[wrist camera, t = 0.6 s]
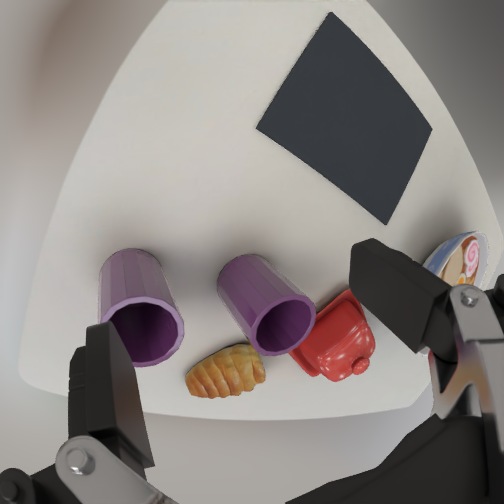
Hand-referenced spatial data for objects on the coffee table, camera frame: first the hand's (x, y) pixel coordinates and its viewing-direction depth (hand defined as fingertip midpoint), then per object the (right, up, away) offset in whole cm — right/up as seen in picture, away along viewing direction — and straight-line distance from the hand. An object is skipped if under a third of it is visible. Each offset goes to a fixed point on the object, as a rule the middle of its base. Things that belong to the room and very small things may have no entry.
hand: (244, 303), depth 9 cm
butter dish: (+10, -9, +32) cm, 35 cm away
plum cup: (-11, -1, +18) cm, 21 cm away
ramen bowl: (+31, -3, +39) cm, 50 cm away
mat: (+13, +16, +22) cm, 30 cm away
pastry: (-3, -12, +27) cm, 30 cm away
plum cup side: (0, -2, +23) cm, 23 cm away
